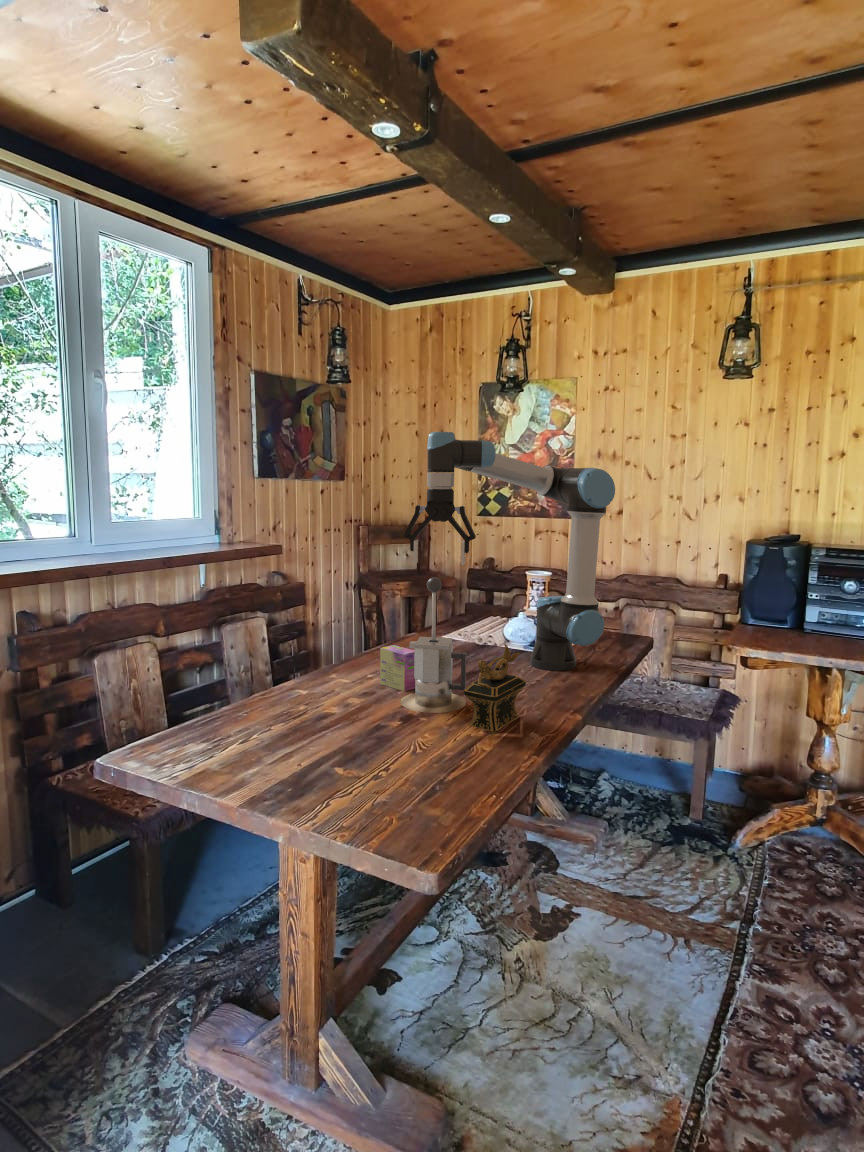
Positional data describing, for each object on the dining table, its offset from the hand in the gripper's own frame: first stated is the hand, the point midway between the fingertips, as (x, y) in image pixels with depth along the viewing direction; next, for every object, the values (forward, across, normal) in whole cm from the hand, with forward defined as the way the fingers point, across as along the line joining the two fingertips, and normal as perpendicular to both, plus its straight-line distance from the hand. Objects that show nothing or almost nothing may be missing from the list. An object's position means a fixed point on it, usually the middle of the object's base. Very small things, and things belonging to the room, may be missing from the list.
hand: (439, 563), depth 198 cm
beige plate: (+38, -1, +12) cm, 39 cm away
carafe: (+37, -2, +12) cm, 39 cm away
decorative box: (+38, -19, +22) cm, 48 cm away
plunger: (+19, 0, +12) cm, 23 cm away
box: (+38, +12, -1) cm, 40 cm away
